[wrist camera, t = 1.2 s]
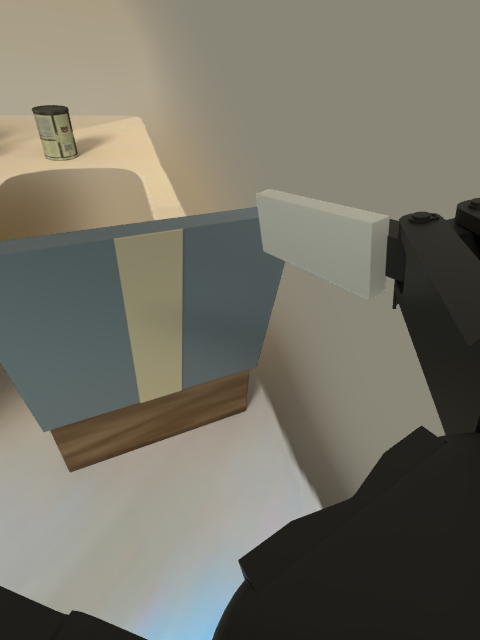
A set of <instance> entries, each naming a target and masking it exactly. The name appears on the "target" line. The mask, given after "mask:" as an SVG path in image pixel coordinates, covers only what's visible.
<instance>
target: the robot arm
mask: <svg viewBox="0 0 480 640" xmlns="http://www.w3.org/2000/svg"><path fill="white" fill-rule="evenodd" d="M256 201H257V208H258V215H259V223H260V230H261V237H262V245H263V251H264V252H266V253H268V254H271V255H273V256H275V257H277V258H279V259H281V260H283V261H286V262H288V263H290V264H292V265H294V266H296V267H298V268H301V269H303V270H305V271H307V272H309V273H311V274H313V275H316V276H318V277H320V278H322V279H324V280H326V281H328V282H331V283H333V284H335V285H337V286H339V287H341V288H344V289H346V290H348V291H350V292H352V293H354V294H356V295H358V296H361V297H363V298H365V299H367V300H371V299H373V298H375V297H377V296H379V295H381V294H383V293H385V283H386V282H385V281H386V276H388V277H390V278H393V279H395V284H394V297H393V309H396V305H397V304H399V305H400V308H401V311H402V314H403V317H404V320H405V322H406V325H407V328H408V331H409V334H410V336H411V339H412V342H413V345H414V348H415V350H416V353H417V356H418V359H419V362H420V364H421V367H422V370H423V373H424V376H425V378H426V381H427V384H428V386H429V390H430V392H431V395H432V398H433V400H434V404H435V406H436V409H437V412H438V415H439V418H440V420H441V423H442V426H443V429H444V431H445V434H446V435H445V436H440V437H437V436H435V435H434V434H433V433H431V432H430V431H428V430H427V429H426V428H424V427H423V426H420V427H419V428H417V429H416V430H415V431H413V432H412V433H411V434H409V435H408V436H407V437H406V438H404V439H403V440H401V441H400V442H398V443H397V444H396V445H394V446H393V447H392V448H390V449H389V450H388V451H386V452H385V453H384V454H383V455H382V457H381V458H380V459H379V461H378V462H377V464H376V465H375V467H374V468H373V470H372V471H371V472H370V474H369V475H368V477H367V478H366V479H365V481H364V482H363V484H362V485H361V487H360V488H359V489H358V491H357V492H356V494H355V495H354V496H353V497H351V498H350V499H348V500H346V501H343V502H341V503H338V504H335V505H333V506H330V507H327V508H325V509H322V510H319V511H317V512H314V513H312V514H309V515H306V516H304V517H301V518H298V519H296V520H293V521H291V522H290V523H288V524H287V525H286V526H284V527H283V528H281V529H280V530H279V531H277V532H276V533H275V534H273V535H272V536H271V537H269V538H268V539H267V540H265V541H264V542H262V543H261V544H260V545H258V546H257V547H256V548H254V549H253V550H252V551H250V552H249V553H247V554H246V555H245V556H243V557H242V558H241V559H239V560H238V561H239V564H240V567H241V570H242V573H243V576H244V578H245V580H244V582H243V583H242V584H241V586H240V587H239V588H238V590H237V591H236V592H235V594H234V595H233V597H232V599H231V601H230V602H229V604H228V606H227V607H226V609H225V611H224V613H223V615H222V617H221V619H220V621H219V624H218V626H217V628H216V630H215V633H214V636H213V639H212V640H480V198H475V199H472V200H467V201H464V202H461V203H459V204H458V205H457V210H456V217H455V218H453V219H449V220H445V219H443V217H441V216H440V215H438V214H436V213H428V212H416V213H414V214H408V215H405V216H402V217H401V218H400V219H399V221H396V220H392V219H389V218H390V217H389V216H387V215H383V214H378V213H374V212H369V211H365V210H360V209H356V208H352V207H347V206H342V205H338V204H334V203H330V202H325V201H320V200H316V199H312V198H307V197H303V196H299V195H294V194H290V193H285V192H281V191H276V190H272V189H268V190H265V191H262V192H259V193H256ZM0 640H147V639H145V638H143V637H140V636H138V635H136V634H133V633H131V632H129V631H126V630H124V629H122V628H119V627H117V626H115V625H112V624H110V623H108V622H105V621H103V620H101V619H99V618H96V617H94V616H91V615H88V614H85V613H83V612H79V611H71V613H70V614H69V615H67V614H63V613H60V612H58V611H55V610H53V609H51V608H48V607H46V606H44V605H42V604H39V603H37V602H35V601H33V600H30V599H28V598H26V597H24V596H22V595H19V594H17V593H15V592H13V591H10V590H8V589H6V588H4V587H1V586H0Z"/></svg>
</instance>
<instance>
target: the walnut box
mask: <svg viewBox="0 0 480 640" xmlns="http://www.w3.org/2000/svg"><path fill="white" fill-rule="evenodd" d="M248 378H249V369H247V370H244V371H241V372H238V373H234V374H231V375H228V376H225V377H221V378H218V379H215V380H212V381H208V382H205V383H202V384H199V385H195V386H192V387H189V388H185V389H182V391H179V392H176V393H172V394H169V395H166V396H163V397H159V398H156V399H153V400H150V401H146V402H143V403H137V404H133V405H130V406H127V407H124V408H120V409H117V410H114V411H111V412H107V413H104V414H101V415H98V416H94V417H91V418H88V419H85V420H81V421H78V422H75V423H72V424H68V425H65V426H62V427H59V428H55V429H52V430H50V431H51V433H52V435H53V437H54V440H55V442H56V444H57V446H58V448H59V450H60V452H61V454H62V457H63V459H64V461H65V463H66V465H67V467H68V469H69V471H70V472H73V471H76V470H78V469H81V468H84V467H87V466H90V465H93V464H96V463H98V462H101V461H104V460H107V459H110V458H113V457H115V456H118V455H121V454H124V453H127V452H130V451H133V450H135V449H138V448H141V447H144V446H147V445H150V444H152V443H155V442H158V441H161V440H164V439H167V438H170V437H172V436H175V435H178V434H181V433H184V432H187V431H190V430H192V429H195V428H198V427H201V426H204V425H207V424H209V423H212V422H215V421H218V420H221V419H224V418H227V417H229V416H232V415H235V414H238V413H241V412H244V411H245V410H246V400H247V389H248Z"/></svg>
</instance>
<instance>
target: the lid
mask: <svg viewBox="0 0 480 640" xmlns="http://www.w3.org/2000/svg"><path fill="white" fill-rule="evenodd" d="M284 264H285V261H283V260H281V259H279V258H277V257H275V256H273V255H271V254H268V253H266V252H264V251H263V245H262V237H261V230H260V223H259V215H258V208H257V207H253V208H246V209H238V210H231V211H224V212H216V213H208V214H201V215H193V216H186V217H178V218H171V219H163V220H156V221H148V222H141V223H133V224H126V225H119V226H111V227H103V228H96V229H89V230H81V231H73V232H66V233H58V234H52V235H44V236H36V237H28V238H22V239H13V240H6V241H0V363H1V365H2V366H3V368H4V370H5V371H6V373H7V374H8V376H9V377H10V379H11V381H12V382H13V384H14V385H15V387H16V389H17V390H18V392H19V393H20V395H21V397H22V398H23V400H24V401H25V403H26V405H27V406H28V408H29V409H30V411H31V413H32V414H33V416H34V417H35V419H36V421H37V422H38V424H39V425H40V427H41V429H42V430H43V432H46V431H49V430H52V429H55V428H59V427H62V426H65V425H68V424H72V423H75V422H78V421H81V420H85V419H88V418H91V417H94V416H98V415H101V414H104V413H107V412H111V411H114V410H117V409H120V408H124V407H127V406H130V405H133V404H137V403H143V402H146V401H150V400H153V399H156V398H159V397H163V396H166V395H169V394H172V393H176V392H179V391H182V389H185V388H189V387H192V386H195V385H199V384H202V383H205V382H208V381H212V380H215V379H218V378H221V377H225V376H228V375H231V374H234V373H238V372H241V371H244V370H247V369H251V368H254V367H256V366H257V364H258V360H259V356H260V353H261V349H262V345H263V341H264V338H265V334H266V331H267V327H268V323H269V319H270V316H271V311H272V308H273V305H274V301H275V297H276V294H277V290H278V286H279V282H280V279H281V275H282V271H283V267H284Z"/></svg>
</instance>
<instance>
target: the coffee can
mask: <svg viewBox="0 0 480 640" xmlns="http://www.w3.org/2000/svg"><path fill="white" fill-rule="evenodd" d="M32 111H33V113H34V117H35V120H36V124H37V128H38V131H39V135H40V139H41V142H42V146H43V149H44V153H45V157H46V158H47V159H49V160H69V159H73V158H76V157H77V156H78V153H77V148H76V144H75V139H74V135H73V130H72V126H71V121H70V117H69V112H68V111H69V110H68V108H67V107H65V106H58V105H46V106H38V107H34V108H32Z"/></svg>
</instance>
